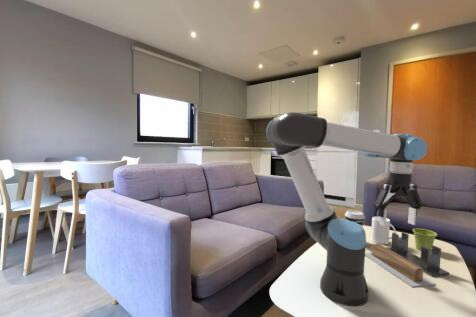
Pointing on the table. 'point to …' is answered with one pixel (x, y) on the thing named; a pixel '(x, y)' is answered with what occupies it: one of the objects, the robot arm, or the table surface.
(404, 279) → the mat
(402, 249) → the stand
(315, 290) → the table surface
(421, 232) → the plant pot
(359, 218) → the coffee cup
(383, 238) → the mug
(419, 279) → the rail
